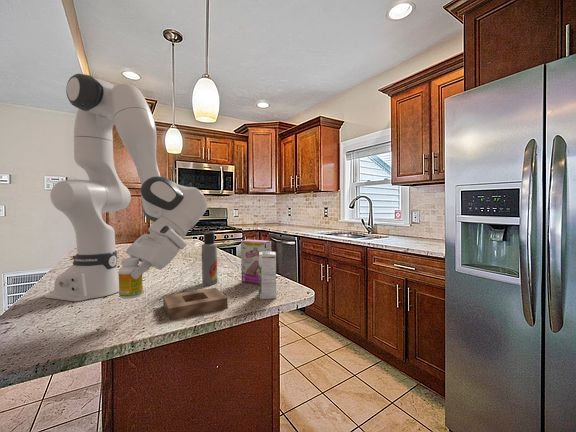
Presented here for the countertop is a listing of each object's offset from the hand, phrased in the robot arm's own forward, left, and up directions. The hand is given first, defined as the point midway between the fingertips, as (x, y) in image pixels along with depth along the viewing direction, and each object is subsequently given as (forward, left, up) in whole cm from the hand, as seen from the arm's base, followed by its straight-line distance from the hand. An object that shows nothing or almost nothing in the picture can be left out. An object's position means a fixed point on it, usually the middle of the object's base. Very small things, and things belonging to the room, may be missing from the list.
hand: (127, 274), depth 73 cm
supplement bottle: (0, +1, -6) cm, 6 cm away
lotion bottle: (+8, +36, -13) cm, 39 cm away
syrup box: (+33, +22, -13) cm, 42 cm away
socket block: (+13, +11, -12) cm, 21 cm away
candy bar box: (+26, +38, -13) cm, 48 cm away
